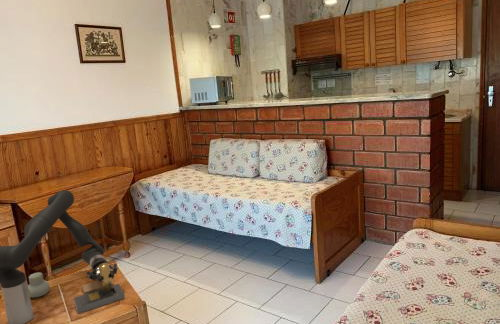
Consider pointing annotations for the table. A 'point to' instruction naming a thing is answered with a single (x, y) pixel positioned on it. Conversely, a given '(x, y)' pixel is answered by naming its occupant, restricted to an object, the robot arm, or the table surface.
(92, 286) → the pad
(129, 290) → the table surface
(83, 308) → the rack plate
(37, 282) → the air freshener
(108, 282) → the peg
